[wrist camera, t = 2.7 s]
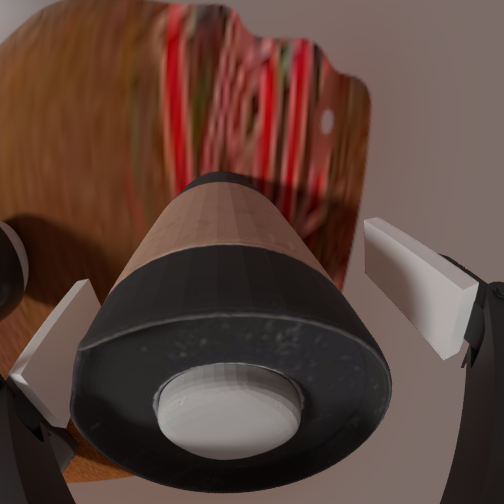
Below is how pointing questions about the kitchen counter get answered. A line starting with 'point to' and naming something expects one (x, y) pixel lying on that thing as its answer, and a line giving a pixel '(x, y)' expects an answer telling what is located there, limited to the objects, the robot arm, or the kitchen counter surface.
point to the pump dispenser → (11, 270)
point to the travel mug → (226, 352)
